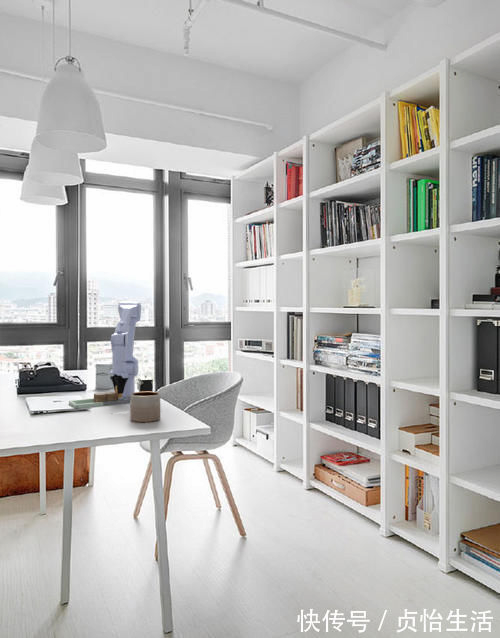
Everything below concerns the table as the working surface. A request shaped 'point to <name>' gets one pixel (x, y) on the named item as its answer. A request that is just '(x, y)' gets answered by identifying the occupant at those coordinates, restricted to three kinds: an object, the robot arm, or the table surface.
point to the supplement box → (104, 375)
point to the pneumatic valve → (145, 384)
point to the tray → (84, 403)
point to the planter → (145, 406)
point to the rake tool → (119, 396)
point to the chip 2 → (111, 396)
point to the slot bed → (116, 401)
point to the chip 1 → (99, 397)
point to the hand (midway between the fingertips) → (119, 392)
